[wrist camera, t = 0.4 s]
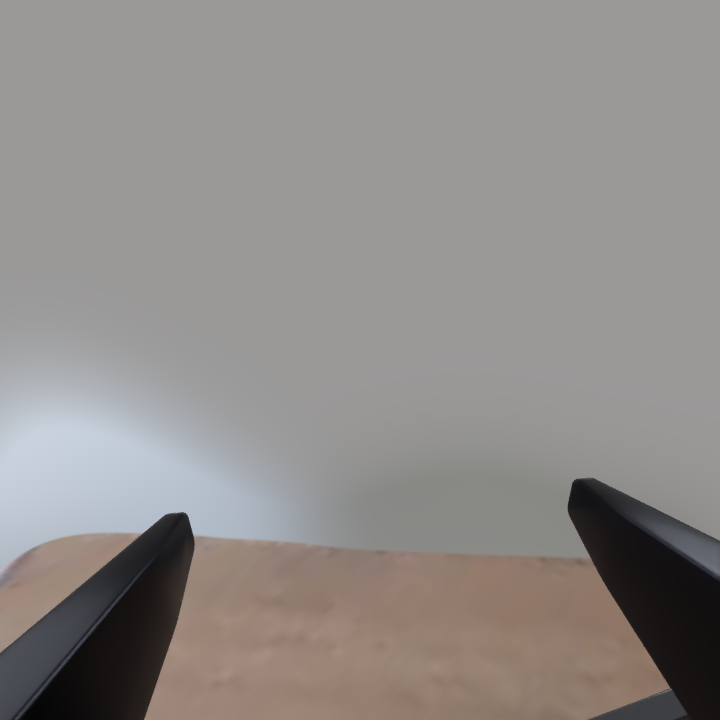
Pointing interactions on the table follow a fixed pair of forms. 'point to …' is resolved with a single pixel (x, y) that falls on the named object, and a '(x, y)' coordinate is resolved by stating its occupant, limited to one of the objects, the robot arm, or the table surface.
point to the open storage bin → (649, 709)
